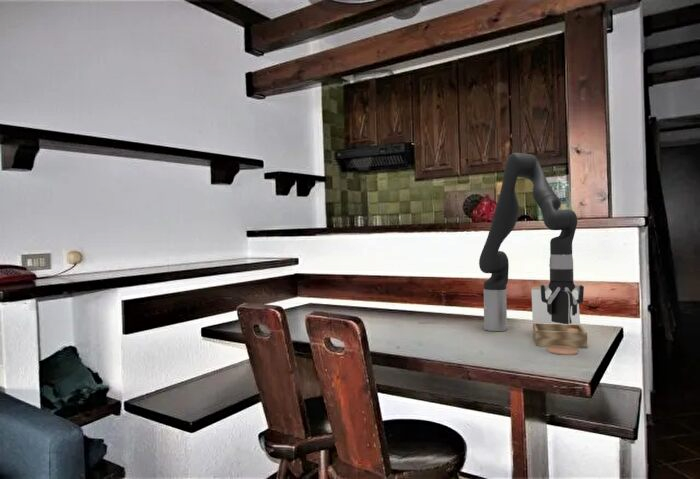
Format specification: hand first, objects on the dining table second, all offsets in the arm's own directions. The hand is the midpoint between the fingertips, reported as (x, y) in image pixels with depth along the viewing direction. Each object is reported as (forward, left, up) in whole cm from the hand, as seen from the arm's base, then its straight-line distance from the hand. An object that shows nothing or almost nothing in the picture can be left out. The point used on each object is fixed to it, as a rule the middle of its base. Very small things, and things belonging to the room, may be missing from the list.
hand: (562, 314), depth 167 cm
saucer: (0, 0, -13) cm, 13 cm away
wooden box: (0, +13, -13) cm, 18 cm away
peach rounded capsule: (+6, +17, -13) cm, 22 cm away
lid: (0, +22, 0) cm, 22 cm away
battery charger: (0, 0, -3) cm, 3 cm away
